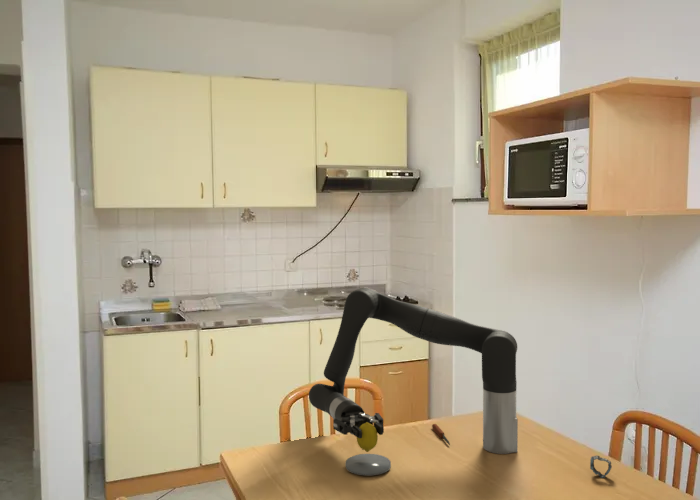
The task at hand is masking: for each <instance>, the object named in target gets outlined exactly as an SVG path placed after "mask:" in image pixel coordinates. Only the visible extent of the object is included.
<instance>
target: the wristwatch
mask: <svg viewBox="0 0 700 500" xmlns="http://www.w3.org/2000/svg"><path fill="white" fill-rule="evenodd" d="M595 460H598V461H601V462H606V463H607V465H608V467H607V470H606V472H605V473H603V474H602V473H601V472H600V471H599V470H597V469H596V467H595ZM589 464H590V465H589V468H590V470H591V471H592V472H593V473H594V474H595V475H598V477H599V478H601V479H605V478H606V476H608V474H609V473H610V472H611V470H612V462H611V460H609V459H607V458H604V457H601V456H600V455H593V456H591V457H590V462H589Z"/></svg>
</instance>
